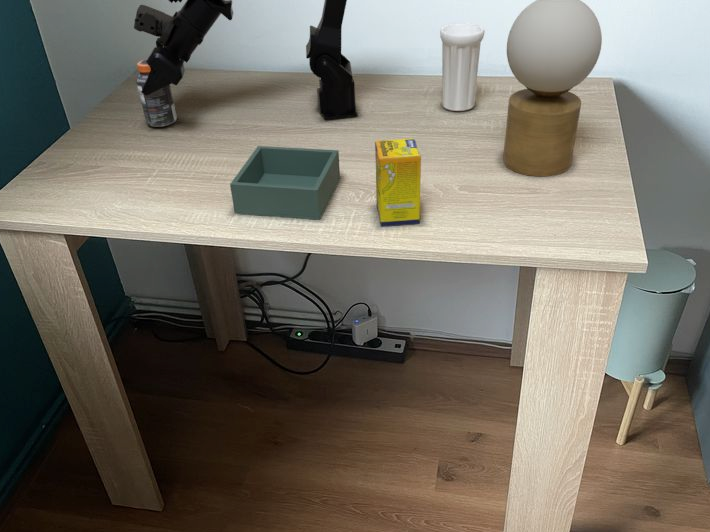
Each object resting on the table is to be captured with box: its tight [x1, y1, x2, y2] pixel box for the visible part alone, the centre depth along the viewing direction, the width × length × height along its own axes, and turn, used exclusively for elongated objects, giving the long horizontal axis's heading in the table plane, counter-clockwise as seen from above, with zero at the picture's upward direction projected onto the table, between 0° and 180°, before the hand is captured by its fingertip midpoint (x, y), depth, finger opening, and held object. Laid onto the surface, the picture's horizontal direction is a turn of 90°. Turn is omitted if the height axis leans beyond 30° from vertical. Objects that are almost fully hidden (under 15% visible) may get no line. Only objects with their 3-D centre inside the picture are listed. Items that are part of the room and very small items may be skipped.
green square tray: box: [229, 145, 341, 221], centre depth 114 cm, size 14×14×5 cm
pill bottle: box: [135, 58, 178, 128], centre depth 136 cm, size 6×6×11 cm
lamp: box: [502, 0, 603, 177], centre depth 115 cm, size 15×14×25 cm
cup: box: [439, 22, 486, 112], centre depth 137 cm, size 8×8×14 cm
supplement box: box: [374, 137, 422, 228], centre depth 106 cm, size 6×6×11 cm
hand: (146, 87), depth 136 cm, fingers closed on pill bottle, 6 cm apart
